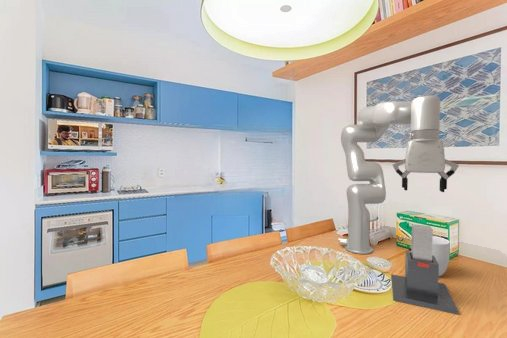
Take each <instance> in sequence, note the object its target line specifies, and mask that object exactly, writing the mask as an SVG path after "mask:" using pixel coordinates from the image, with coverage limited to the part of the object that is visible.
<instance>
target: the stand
mask: <svg viewBox="0 0 507 338" xmlns="http://www.w3.org/2000/svg"><path fill="white" fill-rule="evenodd" d="M404 256H405V257H404V258H405V260H404V261H405V262H404V264H405V266H404V268H405V269H404V276H403V275H399V274H390V275H391V277H390V279H391V280H390V281H392V282H391V291H392V292H391V294H392V301H395V302H400V303H403V304H408V305H414V306H417V307H422V308H427V309H430V310H436V311H440V312H445V313H449V314H452V315H453V314H454V315H458V314H459V308H458V306H457V305H456V302H455V300H454V298H453V297H452V295H451V293H450V291H449V289H448V287H447V285H446V284H445V283H442V282H439V277H440V276H439V264H438V262H437V260H436V259H435V257H434V255H432V262H426V261H419V260H413V259H411V251H405V255H404ZM438 276H439V277H438Z"/></svg>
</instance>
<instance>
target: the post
mask: <svg viewBox="0 0 507 338" xmlns="http://www.w3.org/2000/svg"><path fill="white" fill-rule="evenodd" d="M433 231H434V230H433V228H432V227H431V226H430V225H421V224H415V223H413V224H411V245H410V246H411V247H410V249H411V250H410V252H411V259H413V260H419V261H426V262H432V242H433V236H434V235H433V234H434V233H433Z"/></svg>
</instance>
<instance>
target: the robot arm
mask: <svg viewBox="0 0 507 338" xmlns="http://www.w3.org/2000/svg"><path fill="white" fill-rule="evenodd" d="M440 114H441V99H440V97H439V96H438V95H424V96H418V97H416V98H413V100H412V101H395V100H394V101H384V102H380V103H379V102H378V103H377V104H376V105H370V106H365V107H363V108H362V109H360V110H359V111H358V112H357V116H356V119H357V121H358V124H348V125H347V126H344V127H343V128H342V131H341V132H340V133H341V134H340V141H341V142H340V144H341V146H342V150H343V152H344V155H345V163H346V170H347V171H346V172H347V176H348V179H349V180H350V181H352V182H369V183H354V184H350V185H349V186H348V187H347V188H346V199H347V207H348V209H347V213H348V220H347V221H348V225H347V226H348V227H347V232H348V233H347V238H340V237H339V238H338V243H340V244H343V245H344V249H345V250H346V251H347V252H350V253H354V254H358V255H368V254H371V253H374V249H373V247H372V246H370V241H371V240H370V236H371V235H370V233H371V232H370V231H371V226H370V225H371V223H370V222H371V214H370V211H369V209H368V208H367V206H366V205H368V204H370V205H373V204H376V205H377V204H382V203H384V201H386V197H387V192H386V185H385V177H384V171H383V167H382V166H381V164H380V163H378V162H376V161H366V158H365V153H364V150H363V149H362V147H361V146H360V145H359V144H358V143H376V142H379V140H380V139H382V137H383V135H384V134H385V132H387V130H388V129H389V128H390V126H391V125H410V132H408V133H405V137H404V138H405V139H409V140H410V141H409V140H408V141H407V145H406V150H405V158H403V159H402V160H400V161H397V162H395V163H393V164H392V167H393V169H394V171H395V172H396V174H398V175H399V176H400V177H401V188H402V189H403V190H404V191H408V185H409V182H408V181H409V179H408V178H407V177H408V176H409V175H410V174H411V173H416V174H417V173H421V174H422V173H423V174H425V173H426V174H427V173H428V174H431V173H432V174H435V173H436V174H438V175H439V176H440V178H439V191H440V192H441V193H445V190H447V189H448V179H449V178H450V177H452V176H453V175H454V174H455V173H456V171H457V170H458V168H459V166H460V165H459V164H457V163H456V162H453V161H450V160H448V159H446V155H445V146H444V142H443V140H441V139H440V123H441V121H440V120H441V119H440V118H441V115H440ZM359 123H360V124H359ZM402 165H404V169H405V170H404V171H402V170H401V169H400V168H399V167H400V166H402ZM446 165H447V166H449V167H450V168H449V170H448V171H447V172H445V168H446Z"/></svg>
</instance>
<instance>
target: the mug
mask: <svg viewBox="0 0 507 338" xmlns="http://www.w3.org/2000/svg"><path fill="white" fill-rule="evenodd" d="M450 254H451V242H450V240H448V239H446V238H443V237H439V236H434V235H433V242H432V255H434V257H435V259H436V260H437V262H438V264H439V276H438V278H439V277H441V276H443V275H444V274H445V273H446V271H447V269H448V266H449V264H450V263H449V262H450V256H451V255H450Z"/></svg>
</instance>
